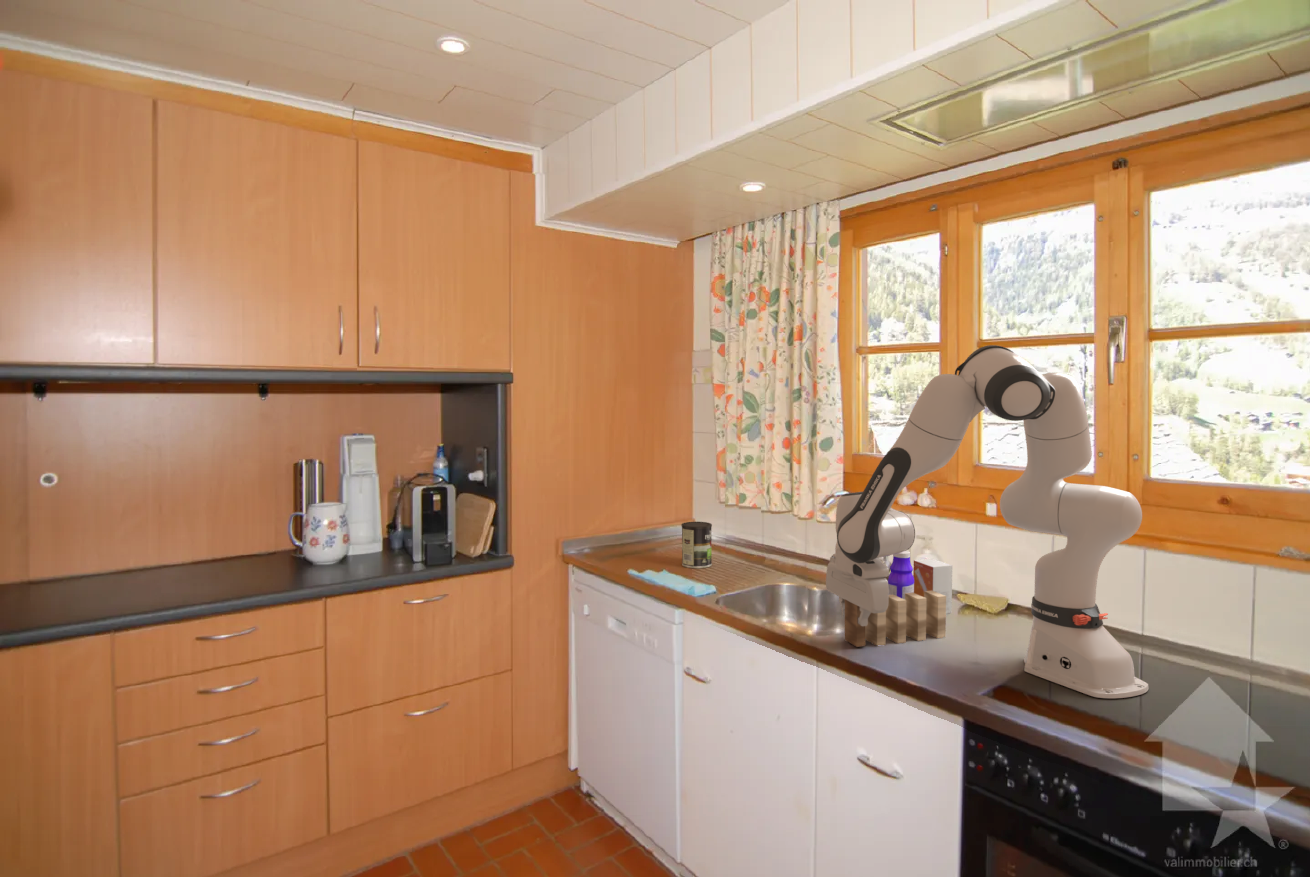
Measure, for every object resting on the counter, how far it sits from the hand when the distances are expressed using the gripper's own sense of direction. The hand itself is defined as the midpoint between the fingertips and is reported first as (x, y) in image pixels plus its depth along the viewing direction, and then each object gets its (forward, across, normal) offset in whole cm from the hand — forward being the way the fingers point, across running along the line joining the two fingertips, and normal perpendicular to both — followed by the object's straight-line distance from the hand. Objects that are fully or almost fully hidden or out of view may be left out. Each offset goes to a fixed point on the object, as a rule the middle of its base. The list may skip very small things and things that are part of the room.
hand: (854, 620), depth 160 cm
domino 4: (+6, 0, +17) cm, 18 cm away
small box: (+6, -16, +34) cm, 38 cm away
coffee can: (+6, -83, -8) cm, 83 cm away
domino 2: (+6, 0, +6) cm, 8 cm away
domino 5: (+6, 0, +22) cm, 23 cm away
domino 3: (+6, 0, +11) cm, 12 cm away
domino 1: (+5, 0, 0) cm, 5 cm away
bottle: (+6, -13, +22) cm, 26 cm away
